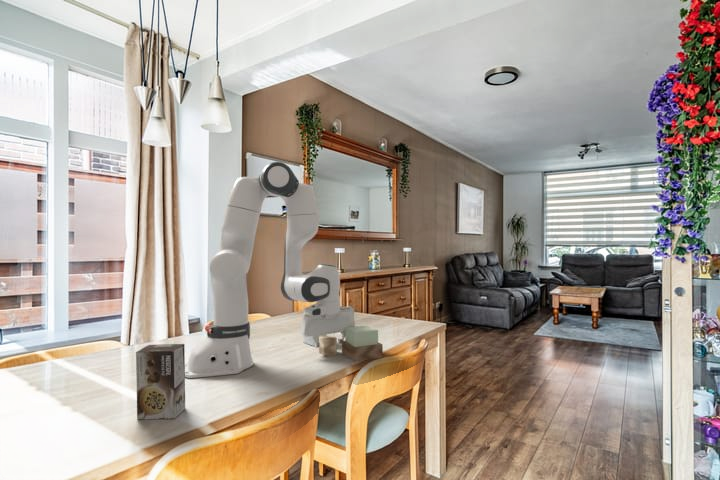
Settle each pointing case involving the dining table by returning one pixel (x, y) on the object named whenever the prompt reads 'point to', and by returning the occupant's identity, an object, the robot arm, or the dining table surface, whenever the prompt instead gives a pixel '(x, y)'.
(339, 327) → the robot arm
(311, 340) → the small box
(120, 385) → the dining table surface
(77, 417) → the dining table surface
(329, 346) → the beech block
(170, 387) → the coffee box
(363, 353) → the walnut block
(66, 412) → the dining table surface
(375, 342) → the sage block
